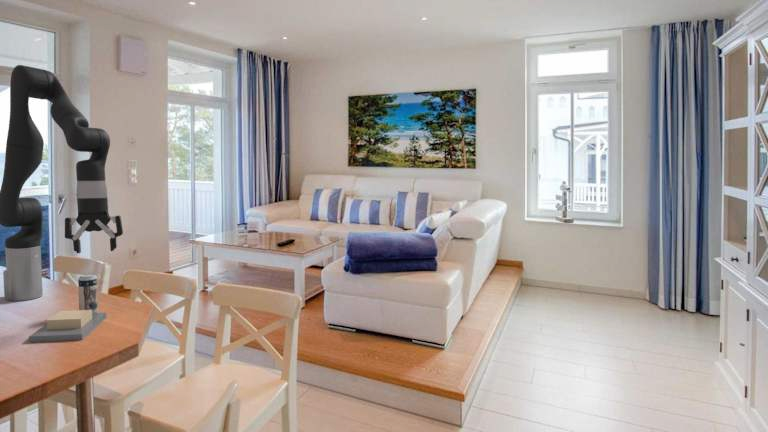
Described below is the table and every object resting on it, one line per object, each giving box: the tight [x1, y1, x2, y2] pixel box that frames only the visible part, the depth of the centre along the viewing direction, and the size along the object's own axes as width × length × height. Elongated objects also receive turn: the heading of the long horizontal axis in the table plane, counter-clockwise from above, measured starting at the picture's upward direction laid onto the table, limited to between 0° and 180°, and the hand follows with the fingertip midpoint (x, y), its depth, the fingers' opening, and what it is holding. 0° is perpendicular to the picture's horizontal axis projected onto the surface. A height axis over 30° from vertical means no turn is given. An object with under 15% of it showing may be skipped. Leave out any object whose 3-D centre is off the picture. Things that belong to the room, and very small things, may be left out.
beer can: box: [77, 273, 99, 313], centre depth 139 cm, size 5×5×12 cm
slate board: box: [28, 309, 107, 343], centre depth 127 cm, size 12×18×4 cm, turn 14°
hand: (95, 251), depth 135 cm, fingers open, 8 cm apart
